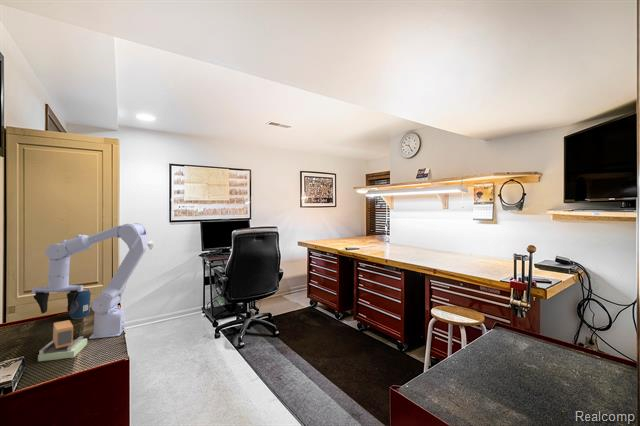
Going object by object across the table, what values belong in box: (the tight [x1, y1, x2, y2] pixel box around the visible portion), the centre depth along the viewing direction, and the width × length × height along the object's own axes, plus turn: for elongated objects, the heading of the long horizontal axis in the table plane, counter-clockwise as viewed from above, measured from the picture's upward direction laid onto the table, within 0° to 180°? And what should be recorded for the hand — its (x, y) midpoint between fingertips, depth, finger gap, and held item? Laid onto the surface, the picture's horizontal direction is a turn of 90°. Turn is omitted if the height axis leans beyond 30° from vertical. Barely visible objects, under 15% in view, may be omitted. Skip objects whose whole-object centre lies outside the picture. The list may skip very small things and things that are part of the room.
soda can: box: [69, 287, 92, 320], centre depth 125 cm, size 7×7×12 cm
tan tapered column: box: [52, 319, 74, 348], centre depth 94 cm, size 4×9×6 cm, turn 49°
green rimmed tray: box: [37, 335, 88, 362], centre depth 94 cm, size 9×10×3 cm
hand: (57, 311), depth 105 cm, fingers open, 7 cm apart
